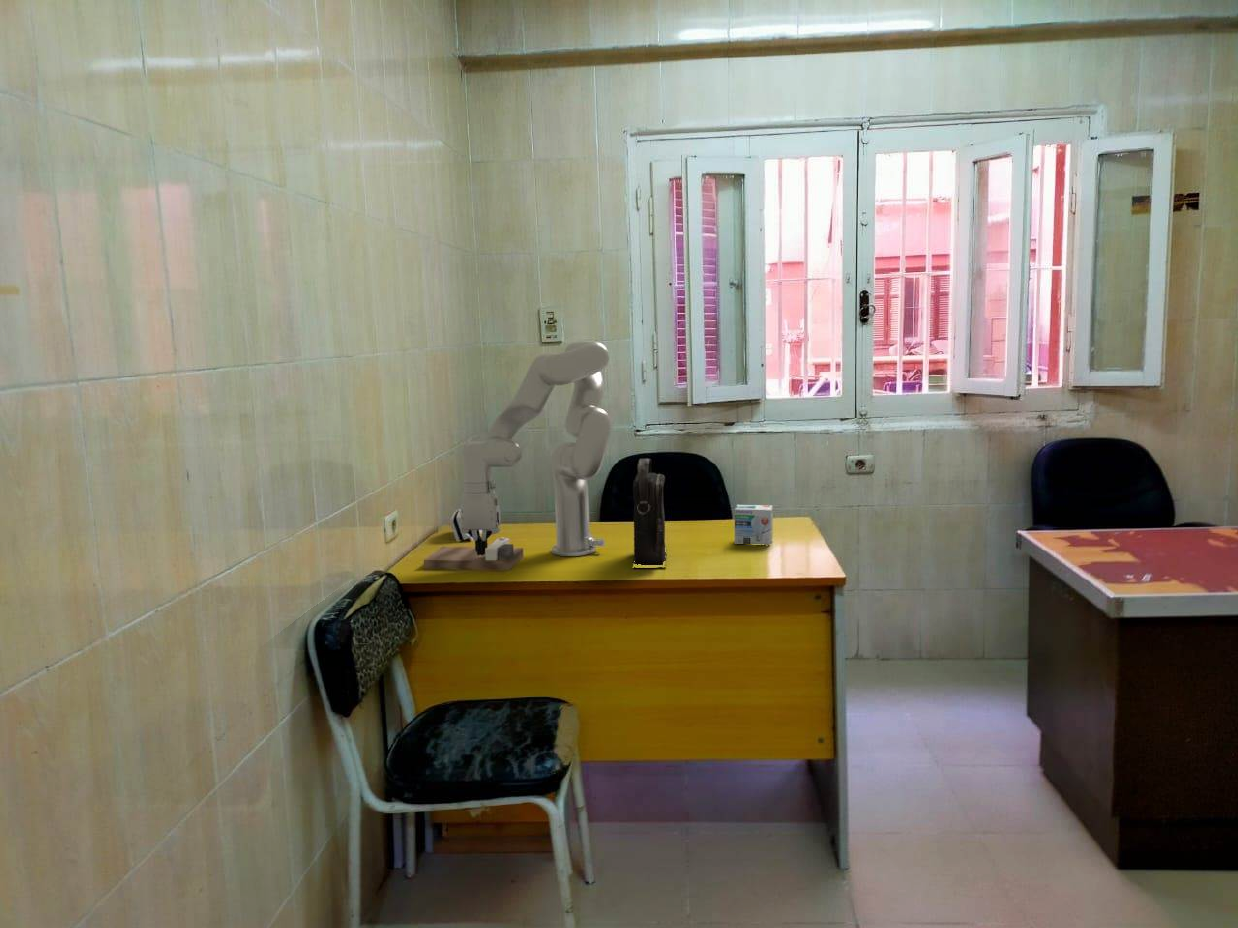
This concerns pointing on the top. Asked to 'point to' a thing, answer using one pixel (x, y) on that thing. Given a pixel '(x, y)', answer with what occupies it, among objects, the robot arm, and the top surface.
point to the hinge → (458, 527)
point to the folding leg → (495, 548)
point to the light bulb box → (754, 524)
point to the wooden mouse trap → (472, 559)
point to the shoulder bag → (648, 516)
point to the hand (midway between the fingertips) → (481, 553)
